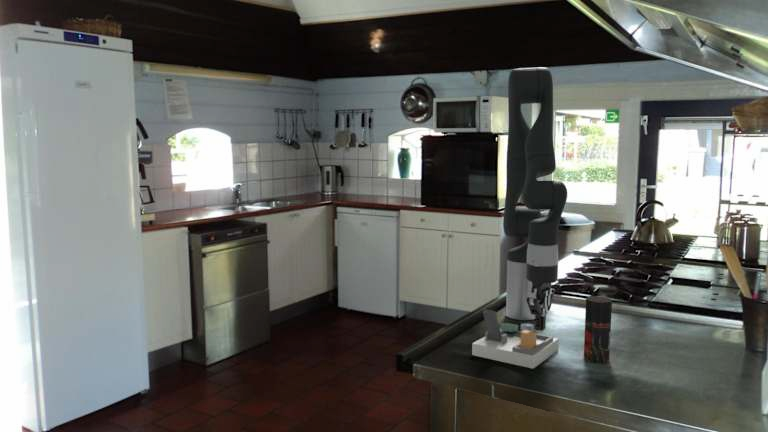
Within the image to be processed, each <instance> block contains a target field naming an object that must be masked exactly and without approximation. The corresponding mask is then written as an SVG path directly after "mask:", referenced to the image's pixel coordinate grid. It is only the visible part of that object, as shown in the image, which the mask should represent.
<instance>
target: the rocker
mask: <svg viewBox="0 0 768 432" xmlns="http://www.w3.org/2000/svg"><path fill="white" fill-rule="evenodd" d="M500 324H501V325H500V328H501V330H504V331H509V332H515V331H519V324H515V323H509V322H506V323H500Z"/></svg>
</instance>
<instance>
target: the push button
mask: <svg viewBox="0 0 768 432" xmlns="http://www.w3.org/2000/svg"><path fill="white" fill-rule="evenodd" d="M524 330H529V331H534V324H532V323H527V322H526V323H525V322H524V323H521V324H520V330H519V331H520V334H521V332H522V331H524Z"/></svg>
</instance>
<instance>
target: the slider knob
mask: <svg viewBox="0 0 768 432" xmlns="http://www.w3.org/2000/svg"><path fill="white" fill-rule="evenodd" d="M536 334H538V333H537V331H534V330H533V331H529V330H524V331H522V332H521V342H520V348H523V349H528V350H532V349H533V348H535V347H536Z"/></svg>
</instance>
